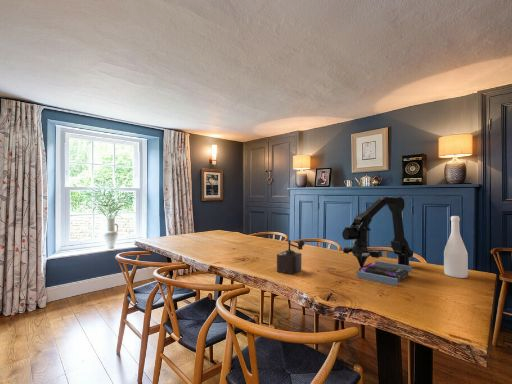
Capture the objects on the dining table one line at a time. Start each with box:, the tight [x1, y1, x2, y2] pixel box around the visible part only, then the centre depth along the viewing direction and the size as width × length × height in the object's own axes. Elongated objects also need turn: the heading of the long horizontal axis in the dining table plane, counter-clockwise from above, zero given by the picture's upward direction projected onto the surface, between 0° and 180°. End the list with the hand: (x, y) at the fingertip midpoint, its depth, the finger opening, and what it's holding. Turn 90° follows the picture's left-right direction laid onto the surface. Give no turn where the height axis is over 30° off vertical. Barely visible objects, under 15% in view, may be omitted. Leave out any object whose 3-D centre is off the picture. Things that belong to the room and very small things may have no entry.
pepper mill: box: [276, 239, 305, 275], centre depth 139 cm, size 16×11×18 cm
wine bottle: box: [443, 215, 469, 279], centre depth 132 cm, size 10×10×30 cm
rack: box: [356, 260, 413, 287], centre depth 134 cm, size 28×18×3 cm, turn 138°
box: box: [358, 262, 409, 283], centre depth 135 cm, size 14×4×20 cm
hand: (361, 267), depth 142 cm, fingers closed
